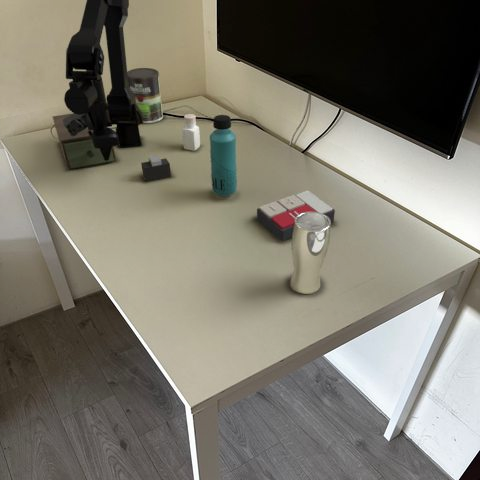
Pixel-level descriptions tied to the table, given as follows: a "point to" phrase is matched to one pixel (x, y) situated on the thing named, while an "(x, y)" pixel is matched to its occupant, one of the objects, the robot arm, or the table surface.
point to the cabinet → (71, 137)
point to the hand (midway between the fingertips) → (106, 160)
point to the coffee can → (146, 93)
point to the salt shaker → (191, 133)
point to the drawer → (84, 153)
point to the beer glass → (309, 250)
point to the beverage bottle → (223, 157)
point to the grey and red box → (291, 213)
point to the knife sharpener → (156, 169)
